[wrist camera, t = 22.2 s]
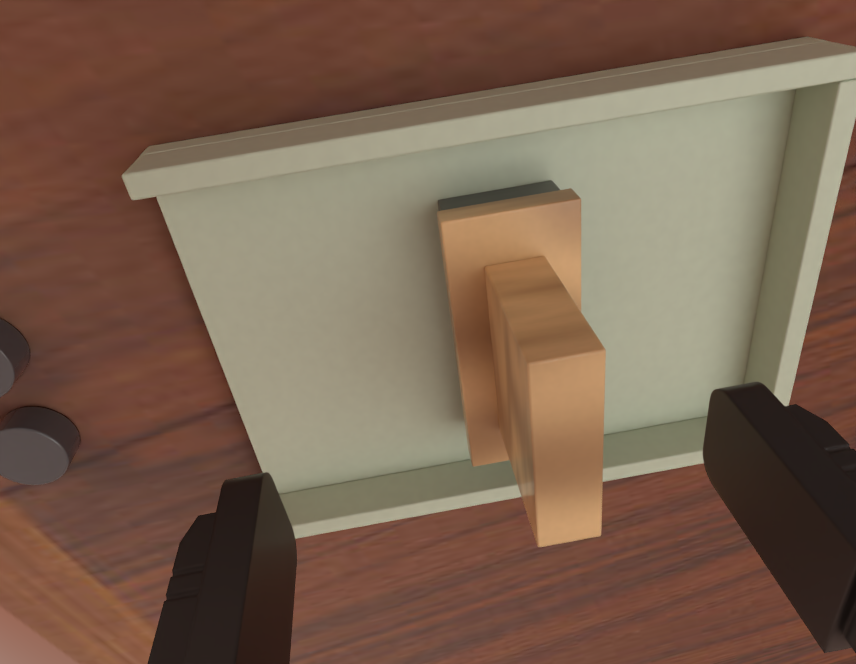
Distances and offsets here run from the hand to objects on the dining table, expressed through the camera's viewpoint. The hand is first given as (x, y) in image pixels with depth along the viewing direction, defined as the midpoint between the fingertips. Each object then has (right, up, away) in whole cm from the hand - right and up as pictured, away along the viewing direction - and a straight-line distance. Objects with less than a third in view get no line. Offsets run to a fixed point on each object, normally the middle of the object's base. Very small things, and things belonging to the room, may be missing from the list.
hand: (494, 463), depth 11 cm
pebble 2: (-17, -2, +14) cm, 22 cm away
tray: (+2, +4, +13) cm, 14 cm away
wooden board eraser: (+2, +3, +13) cm, 13 cm away
